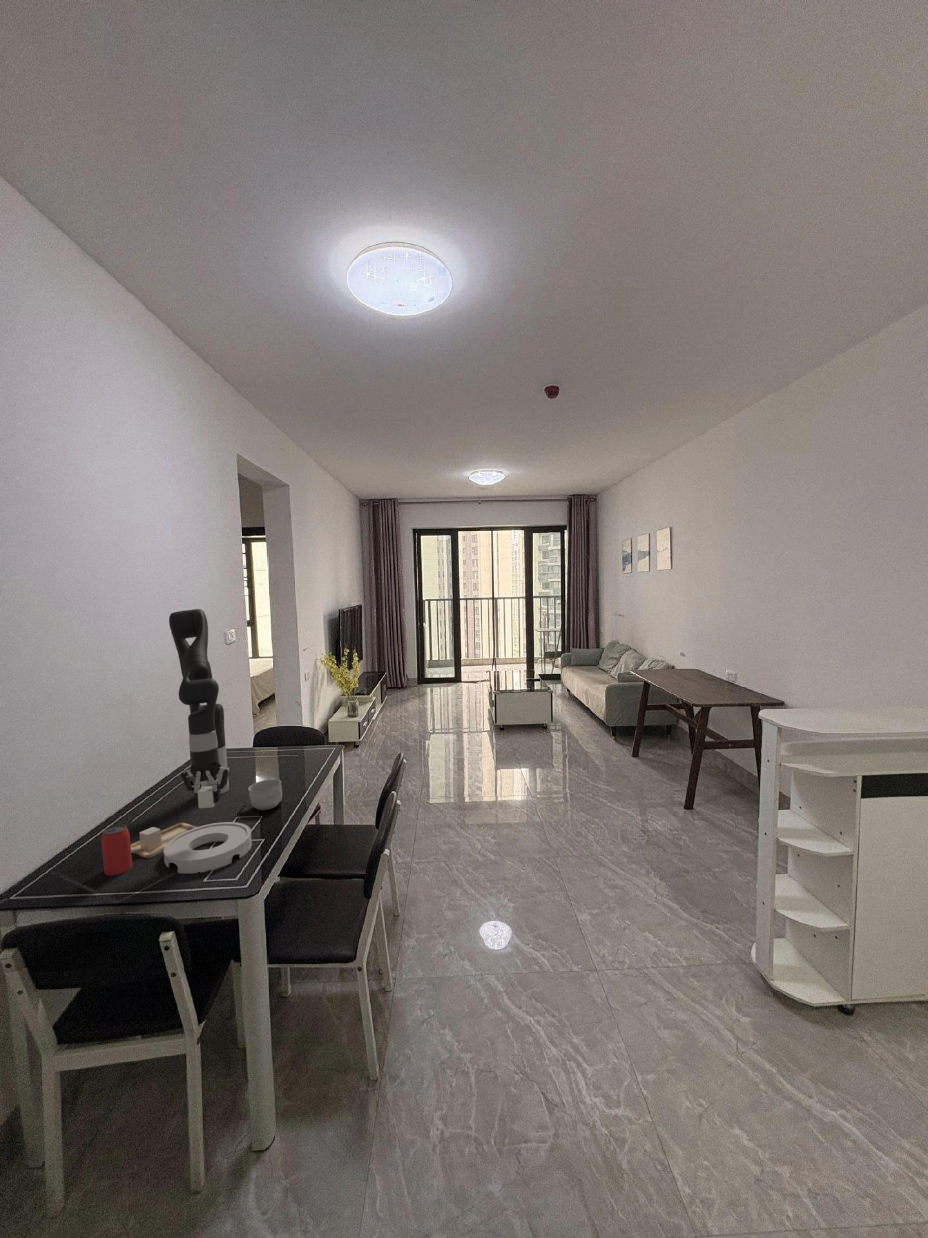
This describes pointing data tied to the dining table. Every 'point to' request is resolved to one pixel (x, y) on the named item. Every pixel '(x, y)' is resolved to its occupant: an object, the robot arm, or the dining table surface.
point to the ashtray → (210, 859)
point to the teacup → (265, 794)
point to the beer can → (116, 850)
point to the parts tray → (165, 837)
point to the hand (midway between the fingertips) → (208, 802)
